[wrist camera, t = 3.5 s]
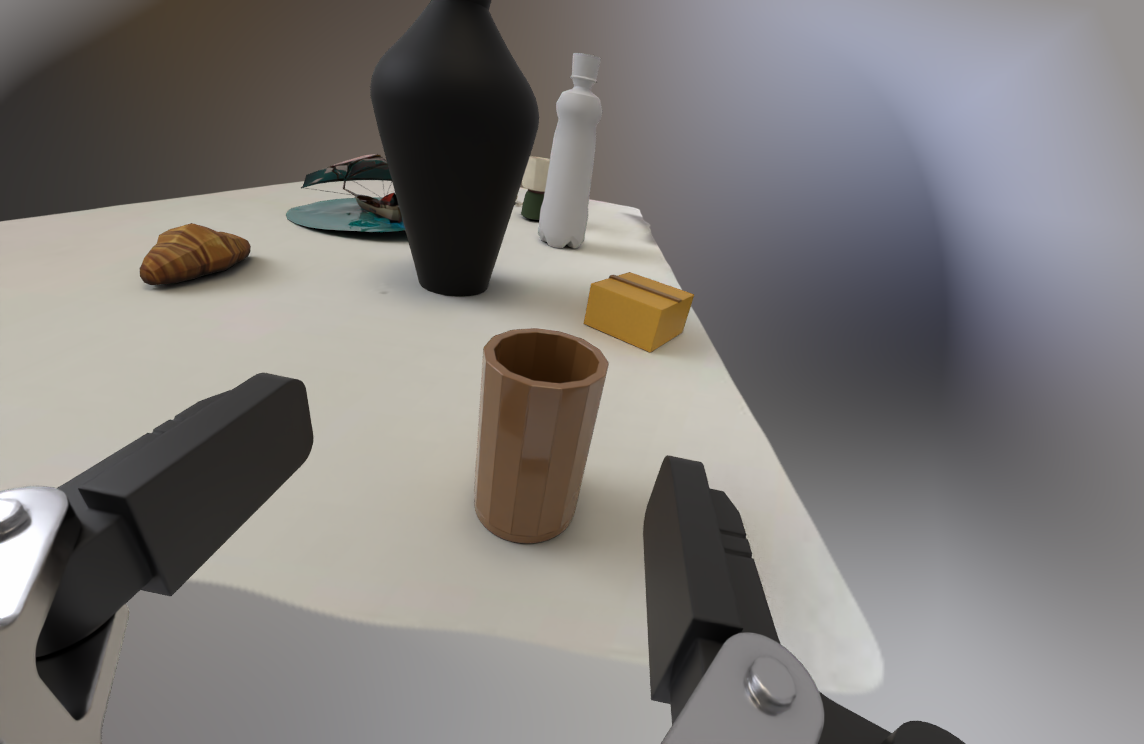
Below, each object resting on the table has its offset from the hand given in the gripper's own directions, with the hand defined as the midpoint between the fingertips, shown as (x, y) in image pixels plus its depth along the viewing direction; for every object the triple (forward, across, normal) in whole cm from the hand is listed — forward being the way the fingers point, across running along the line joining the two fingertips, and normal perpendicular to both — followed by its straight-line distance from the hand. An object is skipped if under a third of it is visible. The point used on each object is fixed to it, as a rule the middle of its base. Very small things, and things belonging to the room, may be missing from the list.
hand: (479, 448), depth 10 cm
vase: (+45, +16, +13) cm, 50 cm away
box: (+42, -7, +13) cm, 44 cm away
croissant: (+35, +40, +14) cm, 55 cm away
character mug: (+96, +15, +13) cm, 99 cm away
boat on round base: (+70, +39, +13) cm, 81 cm away
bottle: (+78, +6, +13) cm, 79 cm away
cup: (+11, 0, +13) cm, 17 cm away
